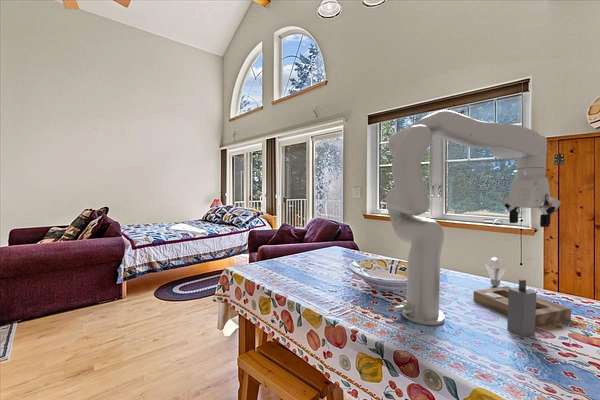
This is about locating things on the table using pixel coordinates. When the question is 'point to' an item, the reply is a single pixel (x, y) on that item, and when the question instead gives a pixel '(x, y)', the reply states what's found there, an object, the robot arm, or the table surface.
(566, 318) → the socket block
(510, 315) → the plug
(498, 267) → the light bulb
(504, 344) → the table surface
